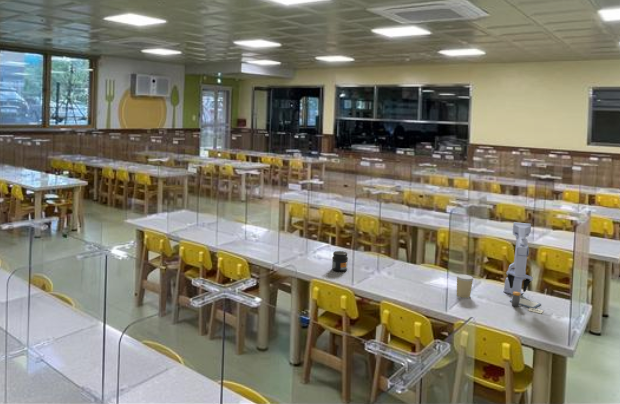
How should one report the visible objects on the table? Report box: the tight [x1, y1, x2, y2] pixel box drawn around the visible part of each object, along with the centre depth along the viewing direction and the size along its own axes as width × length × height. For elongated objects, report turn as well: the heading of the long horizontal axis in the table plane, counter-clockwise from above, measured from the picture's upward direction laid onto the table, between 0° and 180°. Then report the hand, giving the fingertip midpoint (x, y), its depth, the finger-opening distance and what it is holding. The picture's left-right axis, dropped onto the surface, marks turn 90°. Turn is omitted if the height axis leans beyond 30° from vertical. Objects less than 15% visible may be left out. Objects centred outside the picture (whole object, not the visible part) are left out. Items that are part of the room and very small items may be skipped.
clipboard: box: [509, 297, 542, 309], centre depth 306 cm, size 14×10×1 cm
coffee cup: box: [456, 273, 474, 299], centre depth 314 cm, size 9×9×12 cm
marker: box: [511, 292, 522, 308], centre depth 301 cm, size 4×4×8 cm
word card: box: [527, 308, 544, 314], centre depth 295 cm, size 7×5×1 cm
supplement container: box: [331, 250, 349, 273], centre depth 354 cm, size 10×10×12 cm
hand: (517, 289), depth 300 cm, fingers open, 7 cm apart
